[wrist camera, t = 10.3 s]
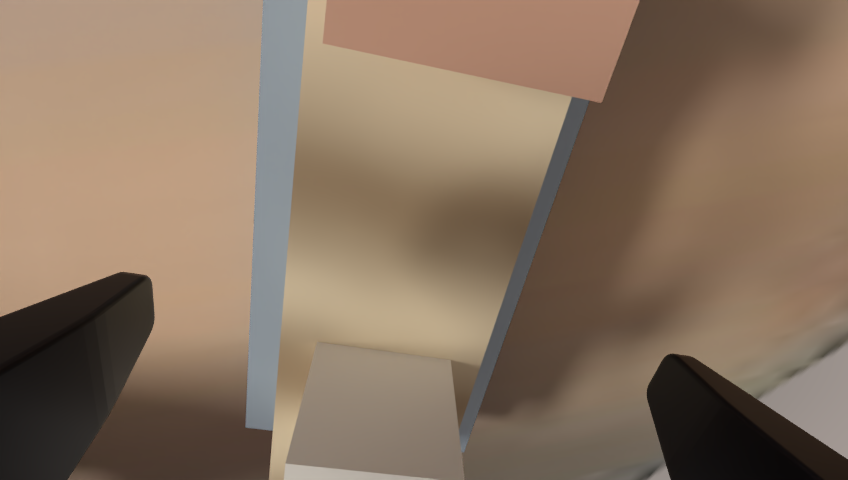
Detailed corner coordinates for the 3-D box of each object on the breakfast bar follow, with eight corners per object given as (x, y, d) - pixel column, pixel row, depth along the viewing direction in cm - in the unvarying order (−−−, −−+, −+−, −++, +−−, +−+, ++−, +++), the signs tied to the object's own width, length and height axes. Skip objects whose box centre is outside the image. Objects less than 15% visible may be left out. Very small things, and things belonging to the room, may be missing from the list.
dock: (458, 410, 24) (464, 452, 22) (261, 386, 23) (245, 427, 21) (686, -279, 13) (745, -337, 10) (307, -401, 11) (284, -495, 9)
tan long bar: (424, 432, 21) (428, 519, 18) (291, 416, 21) (267, 504, 17) (641, -304, 11) (757, -452, 7) (375, -390, 10) (356, -605, 6)
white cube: (424, 448, 16) (428, 578, 12) (305, 435, 16) (275, 566, 12) (450, 360, 14) (465, 481, 11) (317, 341, 14) (285, 463, 10)
